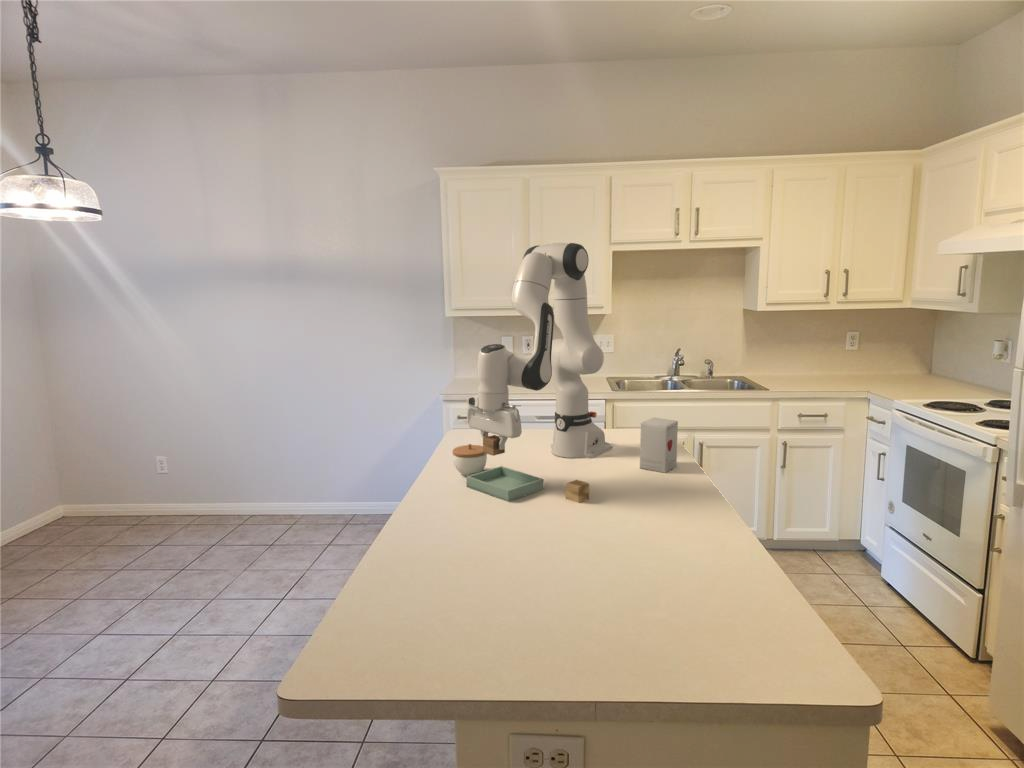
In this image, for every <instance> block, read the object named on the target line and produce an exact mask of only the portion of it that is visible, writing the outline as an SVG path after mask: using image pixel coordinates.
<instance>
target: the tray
mask: <svg viewBox="0 0 1024 768" xmlns="http://www.w3.org/2000/svg"><path fill="white" fill-rule="evenodd" d="M465 477H466V478H465V479H466V481H465V482H466V488H469V489H472V490H475V491H477V492H480V493H484V494H485V495H489V496H492V497H494V498H497V499H500V500H503V501H505V502H508V503H510V502H512V501H514V500H517V499H520V498H523V497H526V496H529V495H531V494H535V493H537V492H540V491H543V490H544V489H545V488H544V487H545V486H544V485H545V483H544V478H541V477H538V476H535V475H533V474H529V473H525V472H523V471H519V470H515V469H513V468H509V467H506V466H502V465H500V466H498V467H494V468H491V469H487V470H485V471H483V470H482V471H481V472H480V473H477V474H473V475H470V476H465Z"/></svg>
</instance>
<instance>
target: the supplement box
mask: <svg viewBox="0 0 1024 768" xmlns="http://www.w3.org/2000/svg"><path fill="white" fill-rule="evenodd" d="M678 427H679V421H678V420H674V419H666V418H658V417H651V418H649V419H646V420H644V421H641V422H640V439H639V440H640V442H639V445H640V448H639V469H642V470H649V471H654V472H660V473H665V474H666V473H667V472H669V471H670V470H671V471H672V470H673V469H674V468H675V467H677V460H678V458H677V457H678V455H677V454H678V430H679V429H678Z"/></svg>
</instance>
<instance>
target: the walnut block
mask: <svg viewBox="0 0 1024 768" xmlns="http://www.w3.org/2000/svg"><path fill="white" fill-rule="evenodd" d="M499 442H500V439H499V435H497V434H492V435H488V437H484V438H482V446H483V453H486V454H487V455H490V456H493V457H494V456H498V455H502V454H505V453H506V448H505V449H504V450H499V449H497V443H499Z"/></svg>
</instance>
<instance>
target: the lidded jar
mask: <svg viewBox="0 0 1024 768" xmlns="http://www.w3.org/2000/svg"><path fill="white" fill-rule="evenodd" d="M487 455H488V454H486V453H483V445H477V444H471V443H468V444H466V445H459V446H457V447H454V448H453V449H452V459H453V464H454V467H455V469H456V470H457V471H458V472H459V473H460V475H462V476H463V477H467V476H470V475H473V474H477V473H480V472H483V470H484V469H485V467H486V464H487V461H488V460H487V459H488V456H487Z"/></svg>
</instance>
